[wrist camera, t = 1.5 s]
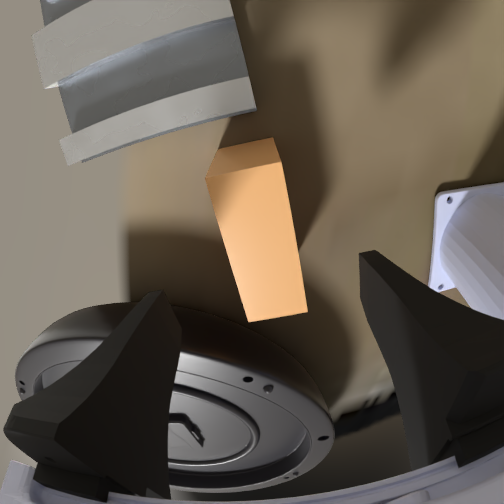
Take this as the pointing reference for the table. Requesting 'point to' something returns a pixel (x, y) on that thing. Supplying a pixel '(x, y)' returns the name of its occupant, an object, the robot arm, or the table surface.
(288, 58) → the table surface
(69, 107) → the slotted rail
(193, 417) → the grey bolted disc
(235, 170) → the orange notched block
